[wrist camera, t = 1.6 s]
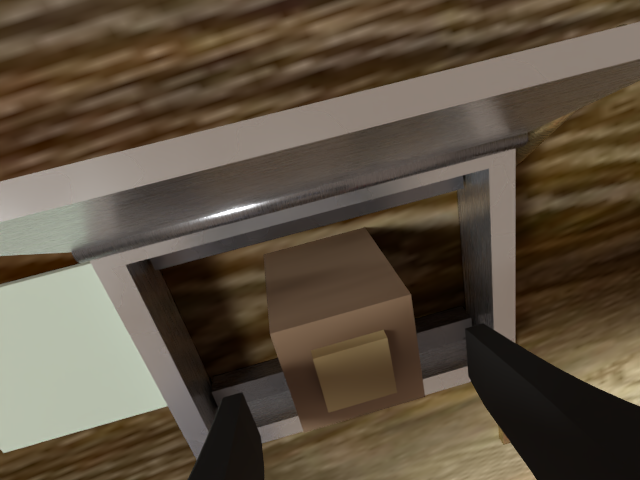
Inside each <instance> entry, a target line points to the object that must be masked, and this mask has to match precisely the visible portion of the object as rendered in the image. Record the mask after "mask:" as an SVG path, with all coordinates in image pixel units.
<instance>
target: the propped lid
mask: <svg viewBox="0 0 640 480" xmlns="http://www.w3.org/2000/svg"><path fill="white" fill-rule="evenodd" d="M639 80H640V22H637V23H633V24H629V25H620V26H617V27H616V28H613V29H609V30H605V31H601V32H597V33H593V34H589V35H585V36H581V37H577V38H573V39H569V40H565V41H561V42H557V43H553V44H549V45H545V46H541V47H537V48H533V49H529V50H525V51H521V52H517V53H513V54H509V55H505V56H501V57H497V58H493V59H489V60H485V61H481V62H477V63H473V64H469V65H465V66H461V67H457V68H453V69H449V70H445V71H441V72H437V73H433V74H429V75H425V76H421V77H417V78H413V79H409V80H405V81H401V82H397V83H393V84H389V85H385V86H381V87H377V88H373V89H369V90H365V91H361V92H357V93H353V94H349V95H345V96H341V97H337V98H333V99H329V100H325V101H321V102H317V103H313V104H309V105H305V106H301V107H297V108H293V109H289V110H285V111H281V112H277V113H273V114H269V115H265V116H261V117H257V118H253V119H249V120H245V121H241V122H237V123H233V124H229V125H225V126H221V127H217V128H213V129H209V130H205V131H201V132H197V133H193V134H189V135H185V136H181V137H177V138H173V139H169V140H165V141H161V142H157V143H153V144H149V145H145V146H141V147H137V148H133V149H129V150H125V151H121V152H117V153H113V154H109V155H105V156H101V157H97V158H93V159H89V160H85V161H81V162H77V163H73V164H69V165H65V166H61V167H57V168H53V169H49V170H45V171H41V172H37V173H33V174H29V175H25V176H21V177H17V178H13V179H9V180H5V181H1V182H0V256H6V255H25V254H44V253H63V252H72V254H73V257H74V258H75V259H76V261H78V262H79V263H84V262H88V261H91V260H95V259H99V258H103V257H107V256H110V255H114V254H118V253H122V252H126V251H129V250H133V249H137V248H141V247H145V246H148V245H152V244H156V243H160V242H163V241H167V240H171V239H175V238H179V237H182V236H186V235H190V234H194V233H198V232H201V231H205V230H209V229H213V228H217V227H220V226H224V225H228V224H232V223H236V222H239V221H243V220H247V219H251V218H254V217H258V216H262V215H266V214H270V213H273V212H277V211H281V210H285V209H289V208H292V207H296V206H300V205H304V204H308V203H311V202H315V201H319V200H323V199H327V198H330V197H334V196H338V195H342V194H345V193H349V192H353V191H357V190H361V189H364V188H368V187H372V186H376V185H380V184H383V183H387V182H391V181H395V180H399V179H402V178H406V177H410V176H414V175H418V174H421V173H425V172H429V171H433V170H437V169H440V168H444V167H448V166H452V165H455V164H459V163H463V162H467V161H471V160H474V159H478V158H482V157H486V156H490V155H493V154H497V153H501V152H505V151H509V150H512V149H516V166H517V165H518V164H519V163H520V162H521V161H523V160H524V159H525V158H526V157H527V156H528V155H529V154H530V153H531V152H532V151H533V150H534V149H535V148H537V147H538V146H539V145H540V144H541V143H542V142H543V141H544V140H545V139H546V138H547V137H548V136H549V135H551V134H552V133H553V132H554V131H555V130H556V129H557V128H558V127H559V126H560V125H561V124H562V123H563V122H565V121H566V120H567V119H568V118H569V117H570V116H571V115H572V114H573V113H574V112H575V111H576V110H577V109H579V108H582V107H584V106H586V105H588V104H590V103H592V102H594V101H597V100H599V99H601V98H603V97H605V96H607V95H609V94H612V93H614V92H616V91H618V90H620V89H622V88H624V87H627V86H629V85H631V84H633V83H635V82H637V81H639ZM516 166H515V167H516Z"/></svg>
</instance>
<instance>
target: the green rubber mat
mask: <svg viewBox="0 0 640 480" xmlns="http://www.w3.org/2000/svg"><path fill="white" fill-rule="evenodd" d="M166 406H168V405H167V403H166V401H165V400H164V398H163V396H162V394H161V392H160V390H159V389H158V387H157V385H156V383H155V381H154V379H153V377H152V376H151V374H150V372H149V370H148V368H147V366H146V364H145V363H144V361H143V359H142V357H141V355H140V353H139V352H138V350H137V348H136V346H135V344H134V342H133V340H132V339H131V337H130V335H129V333H128V331H127V329H126V327H125V326H124V324H123V322H122V320H121V318H120V316H119V315H118V313H117V311H116V309H115V307H114V305H113V303H112V302H111V300H110V298H109V296H108V294H107V292H106V290H105V289H104V287H103V285H102V283H101V281H100V279H99V278H98V276H97V274H96V272H95V270H94V268H93V266H92V265H91V263H90V261H88V262H84V263H80V264H76V265H72V266H69V267H65V268H61V269H57V270H53V271H50V272H46V273H42V274H38V275H34V276H31V277H27V278H23V279H19V280H16V281H12V282H8V283H4V284H0V449H1V450H2V452H3V453H5V452H9V451H12V450H16V449H19V448H23V447H26V446H30V445H33V444H37V443H40V442H44V441H47V440H51V439H54V438H58V437H61V436H65V435H68V434H72V433H75V432H79V431H82V430H86V429H89V428H93V427H96V426H100V425H103V424H107V423H110V422H113V421H117V420H120V419H124V418H127V417H131V416H134V415H138V414H141V413H145V412H148V411H152V410H155V409H159V408H162V407H166Z"/></svg>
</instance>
